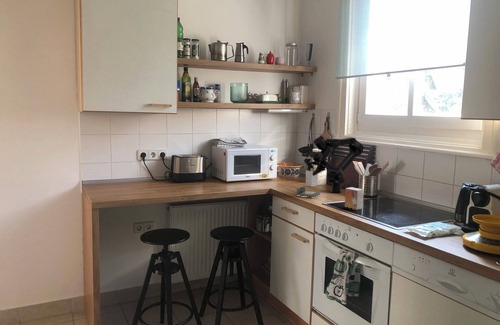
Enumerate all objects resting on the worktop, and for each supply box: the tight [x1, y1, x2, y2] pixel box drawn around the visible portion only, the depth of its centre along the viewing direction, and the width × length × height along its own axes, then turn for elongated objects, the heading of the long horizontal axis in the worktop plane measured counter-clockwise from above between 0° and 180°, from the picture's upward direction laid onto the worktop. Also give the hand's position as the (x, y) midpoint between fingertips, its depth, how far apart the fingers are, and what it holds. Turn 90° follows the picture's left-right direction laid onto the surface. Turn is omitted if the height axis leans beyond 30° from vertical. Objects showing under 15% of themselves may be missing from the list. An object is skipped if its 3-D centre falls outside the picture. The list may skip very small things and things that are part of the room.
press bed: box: [295, 185, 321, 198], centre depth 252 cm, size 10×11×5 cm
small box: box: [344, 186, 365, 211], centre depth 221 cm, size 8×6×10 cm
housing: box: [305, 168, 319, 187], centre depth 249 cm, size 5×5×10 cm
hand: (310, 174), depth 248 cm, fingers closed on housing, 5 cm apart
